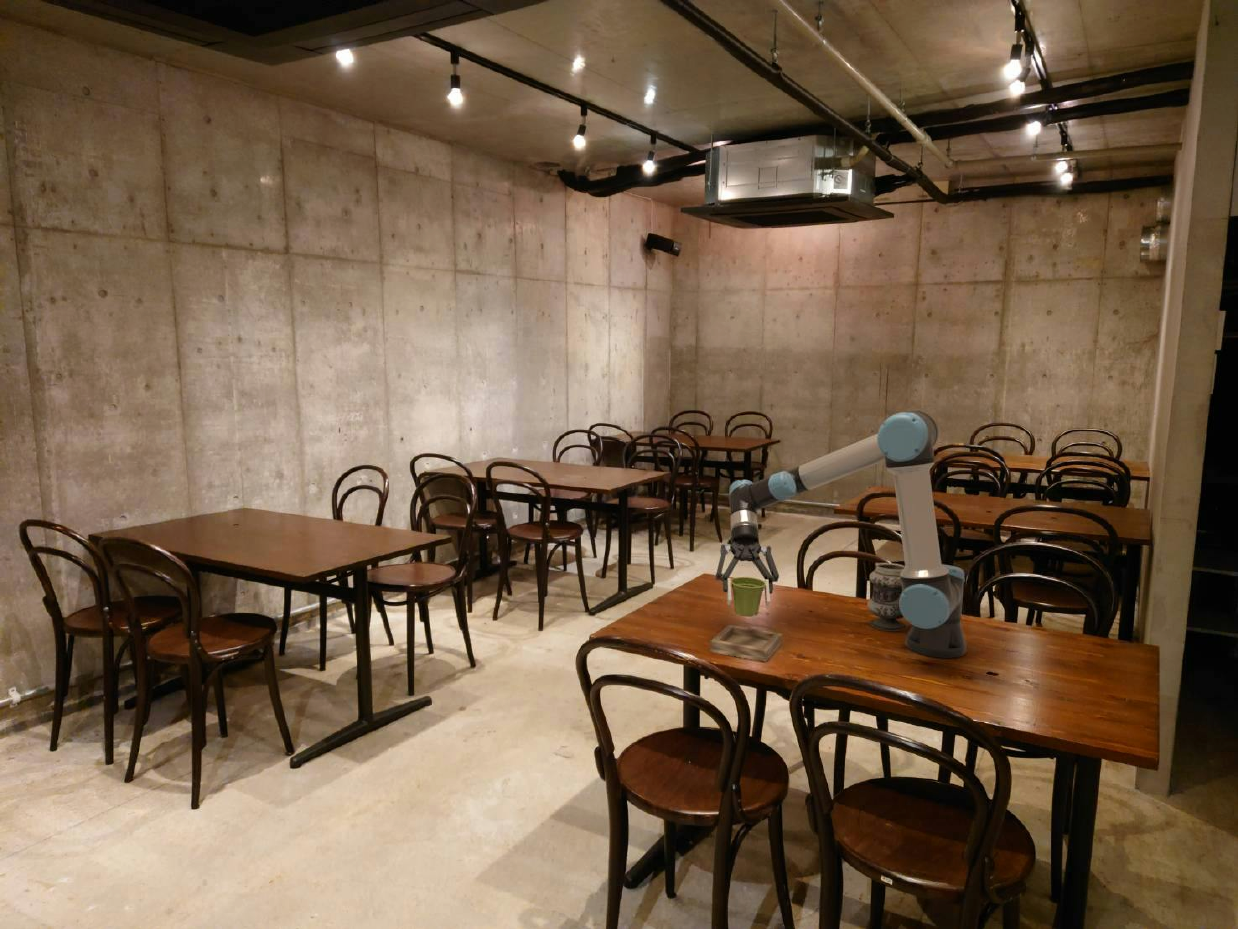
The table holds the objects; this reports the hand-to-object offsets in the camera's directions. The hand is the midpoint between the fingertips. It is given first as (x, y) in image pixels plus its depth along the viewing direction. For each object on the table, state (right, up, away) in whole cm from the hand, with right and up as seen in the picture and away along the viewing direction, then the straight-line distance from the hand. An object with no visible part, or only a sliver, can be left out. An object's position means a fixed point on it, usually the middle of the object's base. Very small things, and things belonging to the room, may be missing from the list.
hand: (748, 603), depth 204 cm
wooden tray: (0, -13, +5) cm, 14 cm away
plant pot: (0, -4, +4) cm, 5 cm away
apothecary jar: (+45, -11, +25) cm, 52 cm away
